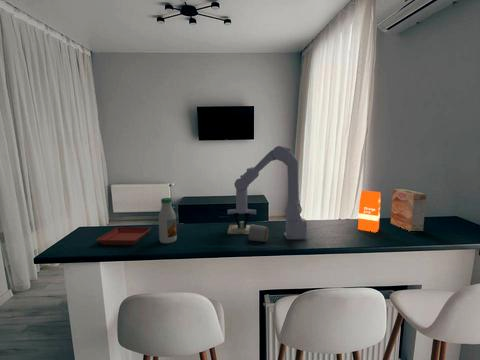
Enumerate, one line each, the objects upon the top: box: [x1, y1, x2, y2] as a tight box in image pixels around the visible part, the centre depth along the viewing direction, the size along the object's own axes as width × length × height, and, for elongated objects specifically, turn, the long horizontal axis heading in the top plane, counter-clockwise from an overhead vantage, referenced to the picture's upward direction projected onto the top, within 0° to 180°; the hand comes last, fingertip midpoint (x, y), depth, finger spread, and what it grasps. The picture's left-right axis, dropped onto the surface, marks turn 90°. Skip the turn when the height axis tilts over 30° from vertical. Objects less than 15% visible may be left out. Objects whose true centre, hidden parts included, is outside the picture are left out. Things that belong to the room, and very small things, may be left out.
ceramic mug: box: [248, 223, 270, 243], centre depth 117 cm, size 11×8×8 cm
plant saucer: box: [96, 226, 152, 246], centre depth 120 cm, size 18×18×3 cm
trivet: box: [227, 224, 251, 235], centre depth 130 cm, size 14×14×1 cm
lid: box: [231, 220, 251, 233], centre depth 130 cm, size 12×12×4 cm
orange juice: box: [357, 190, 381, 233], centre depth 131 cm, size 8×9×20 cm
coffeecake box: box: [390, 188, 427, 232], centre depth 133 cm, size 15×7×20 cm, turn 6°
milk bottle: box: [158, 197, 178, 244], centre depth 116 cm, size 8×8×20 cm
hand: (242, 227), depth 130 cm, fingers closed on lid, 3 cm apart
